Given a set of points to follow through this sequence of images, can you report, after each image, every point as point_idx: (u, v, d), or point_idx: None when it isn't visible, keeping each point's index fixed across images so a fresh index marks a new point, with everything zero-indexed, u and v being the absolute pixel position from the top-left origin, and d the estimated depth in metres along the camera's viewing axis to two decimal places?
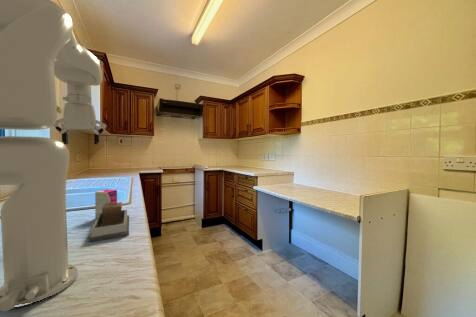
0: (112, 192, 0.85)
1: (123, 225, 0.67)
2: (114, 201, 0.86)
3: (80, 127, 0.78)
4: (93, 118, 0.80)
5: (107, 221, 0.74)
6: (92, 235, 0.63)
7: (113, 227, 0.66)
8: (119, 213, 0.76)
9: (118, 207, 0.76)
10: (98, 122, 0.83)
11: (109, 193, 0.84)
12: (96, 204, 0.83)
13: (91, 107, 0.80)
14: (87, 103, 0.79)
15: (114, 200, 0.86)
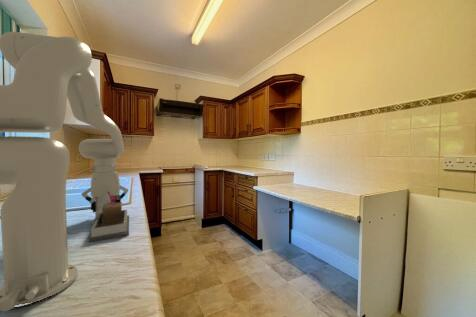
0: None
1: (123, 225, 0.67)
2: (114, 201, 0.86)
3: None
4: (118, 185, 0.85)
5: (107, 221, 0.74)
6: (92, 235, 0.63)
7: (113, 227, 0.66)
8: (119, 213, 0.76)
9: (118, 207, 0.76)
10: (121, 187, 0.88)
11: (109, 193, 0.84)
12: (96, 204, 0.83)
13: (116, 175, 0.85)
14: (112, 172, 0.84)
15: (114, 200, 0.86)
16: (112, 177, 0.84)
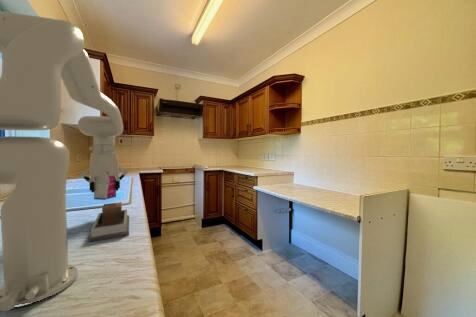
0: None
1: (123, 225, 0.67)
2: (113, 182, 0.85)
3: None
4: (117, 165, 0.84)
5: (107, 221, 0.74)
6: (92, 235, 0.63)
7: (113, 227, 0.66)
8: (119, 213, 0.76)
9: (118, 207, 0.76)
10: (120, 169, 0.87)
11: (108, 173, 0.83)
12: (95, 184, 0.82)
13: (115, 155, 0.84)
14: (111, 151, 0.84)
15: (113, 181, 0.85)
16: (111, 157, 0.83)
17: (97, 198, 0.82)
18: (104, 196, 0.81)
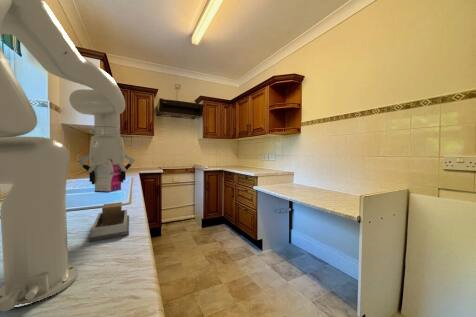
0: None
1: (123, 225, 0.67)
2: (118, 172, 0.71)
3: None
4: (122, 152, 0.70)
5: (107, 221, 0.74)
6: (92, 235, 0.63)
7: (113, 227, 0.66)
8: (119, 213, 0.76)
9: (118, 207, 0.76)
10: (126, 156, 0.73)
11: None
12: (96, 174, 0.68)
13: (120, 140, 0.70)
14: (116, 135, 0.69)
15: (118, 171, 0.71)
16: (116, 142, 0.69)
17: (99, 191, 0.68)
18: (107, 188, 0.67)
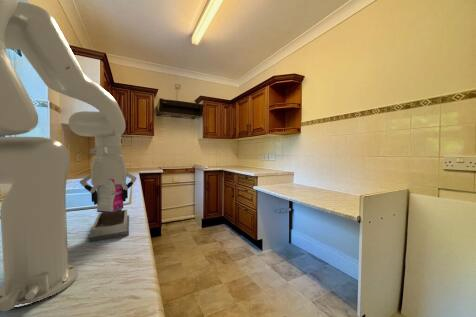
0: None
1: (123, 225, 0.67)
2: (120, 191, 0.71)
3: None
4: (124, 171, 0.70)
5: (107, 221, 0.74)
6: (92, 235, 0.63)
7: (113, 227, 0.66)
8: (119, 213, 0.76)
9: None
10: (128, 175, 0.72)
11: None
12: (98, 194, 0.68)
13: (122, 159, 0.69)
14: (117, 155, 0.69)
15: (120, 190, 0.71)
16: (117, 161, 0.68)
17: (101, 211, 0.68)
18: (109, 208, 0.67)
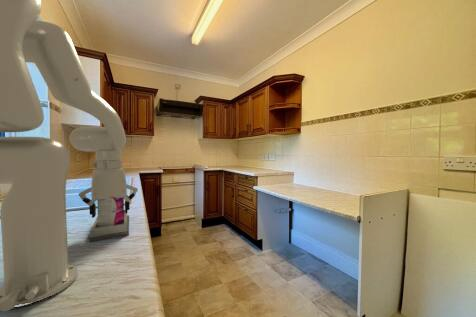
0: None
1: (123, 225, 0.67)
2: (120, 208, 0.71)
3: None
4: (124, 184, 0.70)
5: None
6: (92, 235, 0.63)
7: (113, 227, 0.66)
8: None
9: None
10: (129, 187, 0.72)
11: (115, 199, 0.68)
12: (99, 212, 0.68)
13: (122, 172, 0.70)
14: (118, 168, 0.69)
15: (121, 207, 0.71)
16: (118, 175, 0.69)
17: None
18: None
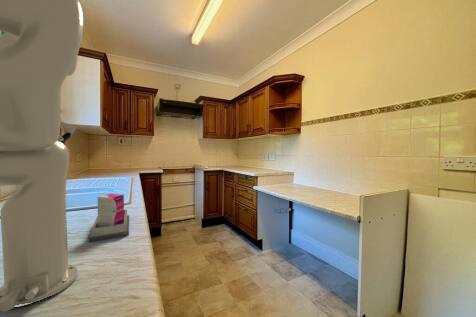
0: (118, 197, 0.70)
1: (123, 225, 0.67)
2: (121, 208, 0.71)
3: None
4: None
5: None
6: (92, 235, 0.63)
7: (113, 227, 0.66)
8: None
9: None
10: (63, 124, 0.60)
11: (115, 199, 0.68)
12: (99, 212, 0.68)
13: None
14: None
15: (121, 207, 0.71)
16: None
17: None
18: None
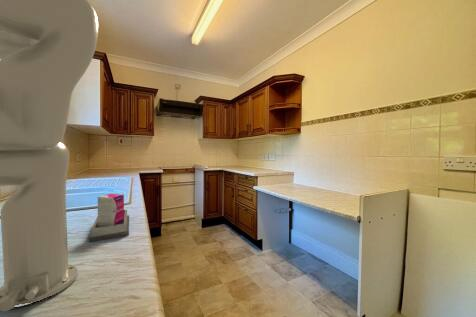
0: (118, 197, 0.70)
1: (123, 225, 0.67)
2: (121, 208, 0.71)
3: None
4: None
5: None
6: (92, 235, 0.63)
7: (113, 227, 0.66)
8: None
9: None
10: None
11: (115, 199, 0.68)
12: (99, 212, 0.68)
13: None
14: None
15: (121, 207, 0.71)
16: None
17: None
18: None
